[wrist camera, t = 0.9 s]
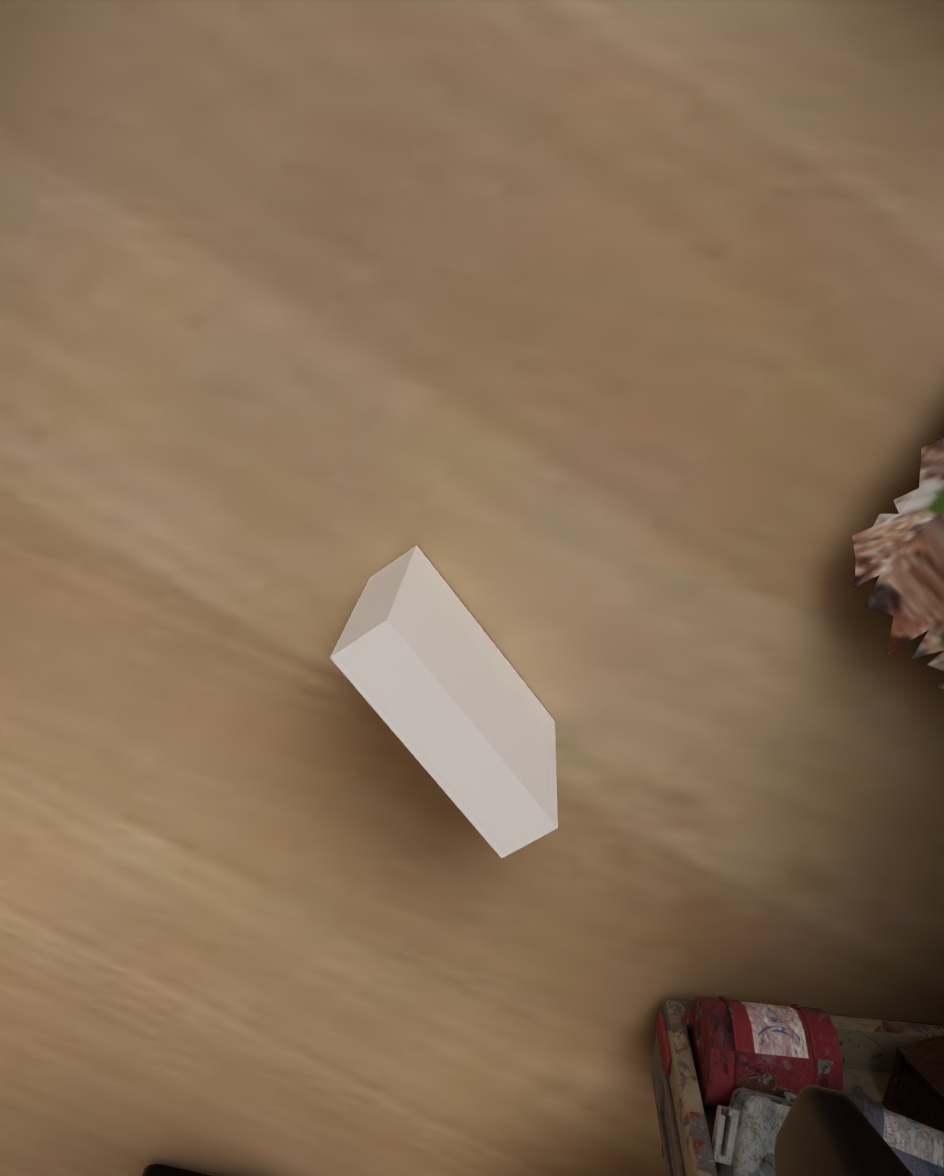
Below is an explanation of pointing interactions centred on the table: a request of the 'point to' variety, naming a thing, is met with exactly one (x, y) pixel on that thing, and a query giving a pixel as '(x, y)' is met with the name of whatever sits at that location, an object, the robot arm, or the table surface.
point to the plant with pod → (910, 561)
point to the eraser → (453, 701)
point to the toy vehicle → (788, 1081)
